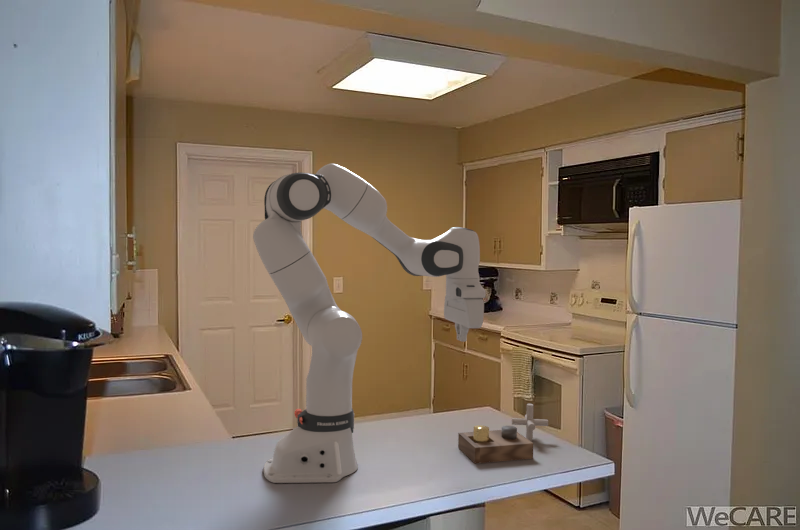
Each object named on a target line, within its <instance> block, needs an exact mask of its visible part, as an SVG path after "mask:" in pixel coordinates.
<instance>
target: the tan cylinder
mask: <svg viewBox="0 0 800 530" xmlns="http://www.w3.org/2000/svg"><path fill="white" fill-rule="evenodd" d="M489 431H490V427H489V426H487V425H482V424H481V425H474V426H473V432H474V434H473V442H474V443H483V442H489Z"/></svg>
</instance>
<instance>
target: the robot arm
mask: <svg viewBox="0 0 800 530" xmlns="http://www.w3.org/2000/svg"><path fill="white" fill-rule="evenodd" d="M263 199H264V200H263V201H264V203H263V204H264V220H262V221H261V222H260V223H259V224H258V225H257V226H256V228H255V229H254V231H253V236H252V239H253V242H254V245H255V248H256V250H257V252H258V256H259V257H260V260H261V262H262V264H263V265H264V268H265V269H266V272H267V273H268V274H269V276H270V278H271V280H272V282H273V283H274V285H275V286H276V287H275V288H277V290H278V292H279V293H280V295H281V297H282V298H283V300H284V302H285V304H286V305H287V307H288V309H289V313H290V315H291V316H292V318H293V320H294V322H295V324H296V326H297V328H298V330H299V331H300V333H301V335H302V337H303V339H304V340H305V342H306V343H307V344H308V345H309V346H311V358H310V364H309V370H308V373H307V375H306V379H305V381H306V382H305V383H306V386H305V388H306V389H305V390H306V391H305V392H306V395H305V397H306V398H305V400H306V401H305V405H306V406H305V409H304V410H302V409H301V408H296V409H295V410H294V416H295V417H294V418H296V419H297V421H296V423H297V426H296V427H294V428H293V429H292V430H290V431H289V432H288V433H287V434H285V435H284V436H283V437H280V439H278V441H277V443H276V445H275V448H274V451H273V456H272V458H269V459H268V460H267V461H266V462H265V463H264V465H263V475H264V478H265V479H266V480H267V481H269V482H271V483H274V484H275V483H277V484H283V483H284V484H285V483H286V484H287V483H288V484H290V483H292V484H293V483H295V484H297V483H299V484H300V483H302V484H303V483H337V482H339V481H341V479H343V478H345V477H347V476H348V475H352V474H353V473H354V472H356V471H357V470H358V468H359V464H358V462H357V461H358V460H357V458H356V453H355V445H354V438H353V437H354V436H353V433H354V429H355V413H354V412H355V411H354V409H353V381H354V380H353V379H354V372H355V371H354V370H355V365H356V360H357V356H358V351H359V349H360V347H361V345H362V341H363V332H362V328H361V326H360V324H359V323H358V321H357V320H356V318H355V317H354V316H353V315H351V314H350V313H348V312H346V311H344V310H341V308H340V307H339V306H338V305H337V303H336V300H335V298H334V295H333V294H332V292H331V289H330V286H329V283H328V280H327V277H326V275H325V273H324V272H323V270H322V268H321V266H320V265H319V263H318V261H317V259H316V257H315V256H314V253H313V252H312V251H311V249H310V247H309V246H308V244H307V242H306V241H305V239H304V237H303V233H302V229H301V227H302V226H301V225H302V221H305V220H308V219H311V218H313V217H314V216H316V215H317V214H319V212H321V211H322V210H323V209H325V210H327V211H329V212H331V213H332V214H333V215H334V216H336V217H338V218H339V219H340V220H341V221H342V222H343V221H344V222H345V223H346V224H348V225H349V226H351V227H352V228H354V229H356V230H359V231H360V232H363V233H364V234H366V235H368V236H370V237H371V238H373V240H375V241H376V242H378V243H379V244H380V245H381V246H383V247H384V248H386V250H388V252H390V253H391V254H393V255H394V256H395V258H396V259H397V261H398V262H399V264H400V266H401V268H402V269H403V270H404V271H405V273H407V274H409V275H410V276H414V277H432V278H439V277H444V276H445V296H444V304H443V305H444V306H443V316H444V319H445V320H447V321H450V322H453V323H454V329H455V332H456V340H457V341H460V342H464V343H465V342H467V340H468V333H469V331H470V329H480V328H482V326H483V323H484V314H485V313H484V312H485V301H484V299H486V293H487V291H486V289H485V288H484V287H483V286H482V284H481V282H480V274H479V265H480V261H481V250H480V249H481V247H480V237H479V235H478V233H477V232H476V231H475V230H473V229H470V228H466V227H459V226H454V227H450V228H449V230H447V231H445V232H444V233H442V234H441V235H439V236H436V237H434V238H432V239H420V238H415V237H412V236H409V235H408V234H406V233H405V232H404V231H403V230H402V229H400V227H398V226H397V225H395V224H394V223H393V222H391V220H390V219H389V218H388V216H387V213H388V204H387V203H388V202H387V200H386V198H385V197H384V196H383V195H382V194H381V192H380V191H379V190H377V189H376V188H375V187H374V186H373V185H372V184H370V183H369V182H367V181H366V180H365V179H364V178H362V177H361V176H359V175H357V174H356V173H354V172H352V171H350V170H349V169H347V168H346V167H344V166H341V165H339V164H336V163H328V164H324V165H323V166H321V167H320V168H319V169H318V170H317V172H316V173H311V172H310V173H309V172H303V171H302V172H294V173H289V174H285V175H283V176H282V175H281V176H280V177H278V178H277V179H275V180H274V181H273V182H271V184H270V185H269V186H268V187H267V188H266V191H265V194H264V198H263Z"/></svg>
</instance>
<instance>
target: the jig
mask: <svg viewBox="0 0 800 530" xmlns="http://www.w3.org/2000/svg"><path fill="white" fill-rule="evenodd" d="M457 434H458V435H457V437H458V439H457V441H458V444H457V447H458V449H459V450H460V451H461V452H462V453H463V454H464V455H465V456H467V457H468V458H469V460H471V462H473V463H474V464H476V465H477V464H486V463H497V462H509V461H519V460H520V461H521V460H532V459H534V442H532V441H529V440H528V439H527V438H526V436H524V435H522V434H521V433H520V432H518V428H517V427H516V426H515V425H514V426H513V425H502V426H501V429H496V430H495V429H493V430H489V442H483V443H474V442H473V434H474V431H469V432H468V431H467V432H458V433H457Z"/></svg>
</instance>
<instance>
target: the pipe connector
mask: <svg viewBox="0 0 800 530" xmlns="http://www.w3.org/2000/svg"><path fill="white" fill-rule="evenodd" d="M513 425H514V426H515V425H516V426H526V429H525V438H527V439H528V440H529V441H531V442H532V441H533V439H534V437H533V434H534V433H533V432H534V430H535V429H536V426H538V427H539V426H540V427H542V426H543V427H549V420H548V419H545V418H543V419H540V418H534V404H533V403H527V404H526V414H525V415H524V418H517V417H515V418H514V417H512V418H511V426H513Z"/></svg>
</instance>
